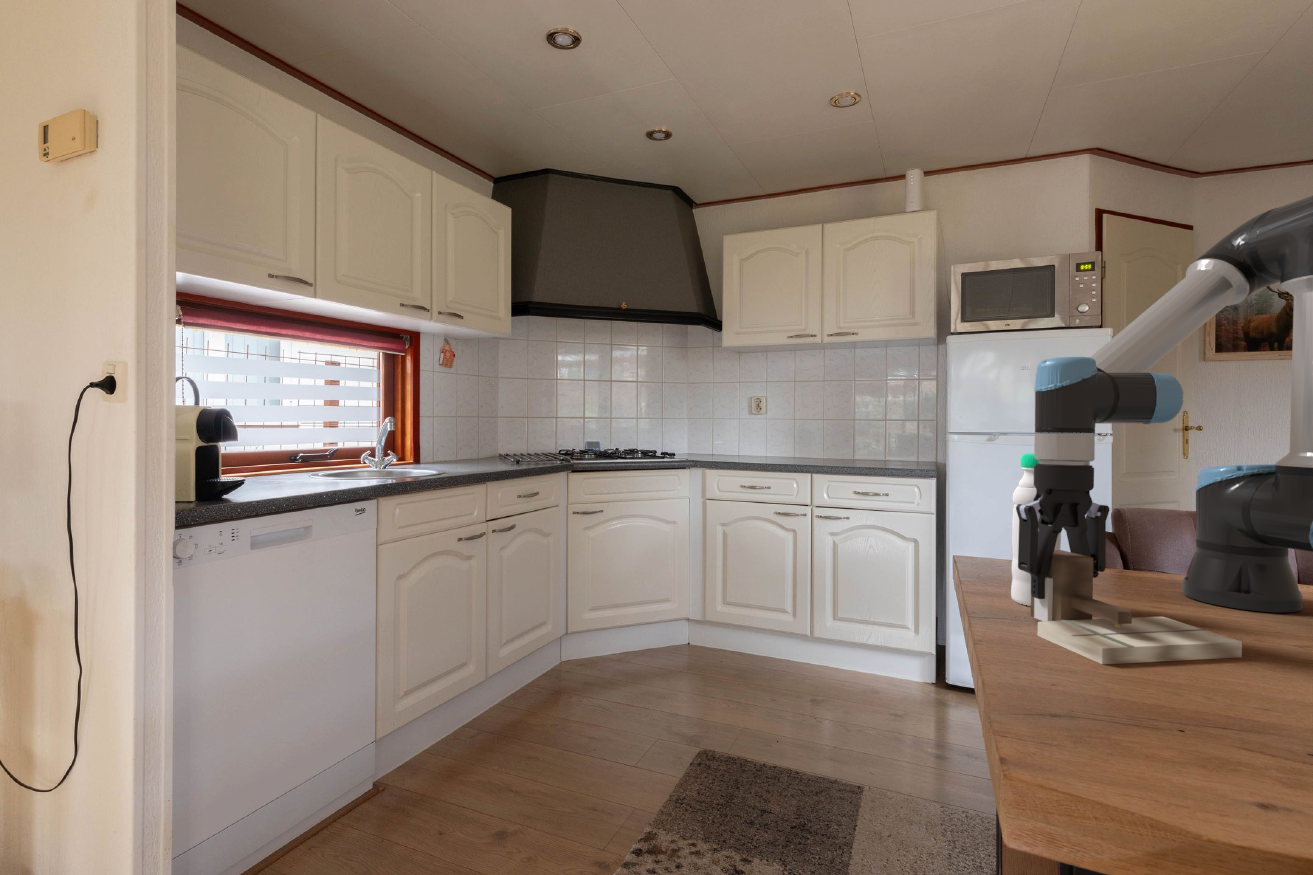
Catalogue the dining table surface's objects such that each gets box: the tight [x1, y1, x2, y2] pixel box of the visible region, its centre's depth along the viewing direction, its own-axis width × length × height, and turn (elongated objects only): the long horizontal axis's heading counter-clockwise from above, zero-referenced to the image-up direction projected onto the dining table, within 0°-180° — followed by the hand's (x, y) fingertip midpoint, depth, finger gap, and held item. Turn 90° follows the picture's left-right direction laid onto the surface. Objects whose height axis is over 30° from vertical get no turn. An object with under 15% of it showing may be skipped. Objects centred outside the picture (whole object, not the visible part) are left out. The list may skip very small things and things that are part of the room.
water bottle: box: [1010, 453, 1062, 607], centre depth 107 cm, size 7×7×25 cm
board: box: [1037, 616, 1243, 665], centre depth 86 cm, size 20×11×2 cm, turn 98°
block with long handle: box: [1030, 549, 1133, 628], centre depth 91 cm, size 5×14×10 cm, turn 8°
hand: (1060, 619), depth 95 cm, fingers closed on block with long handle, 5 cm apart
